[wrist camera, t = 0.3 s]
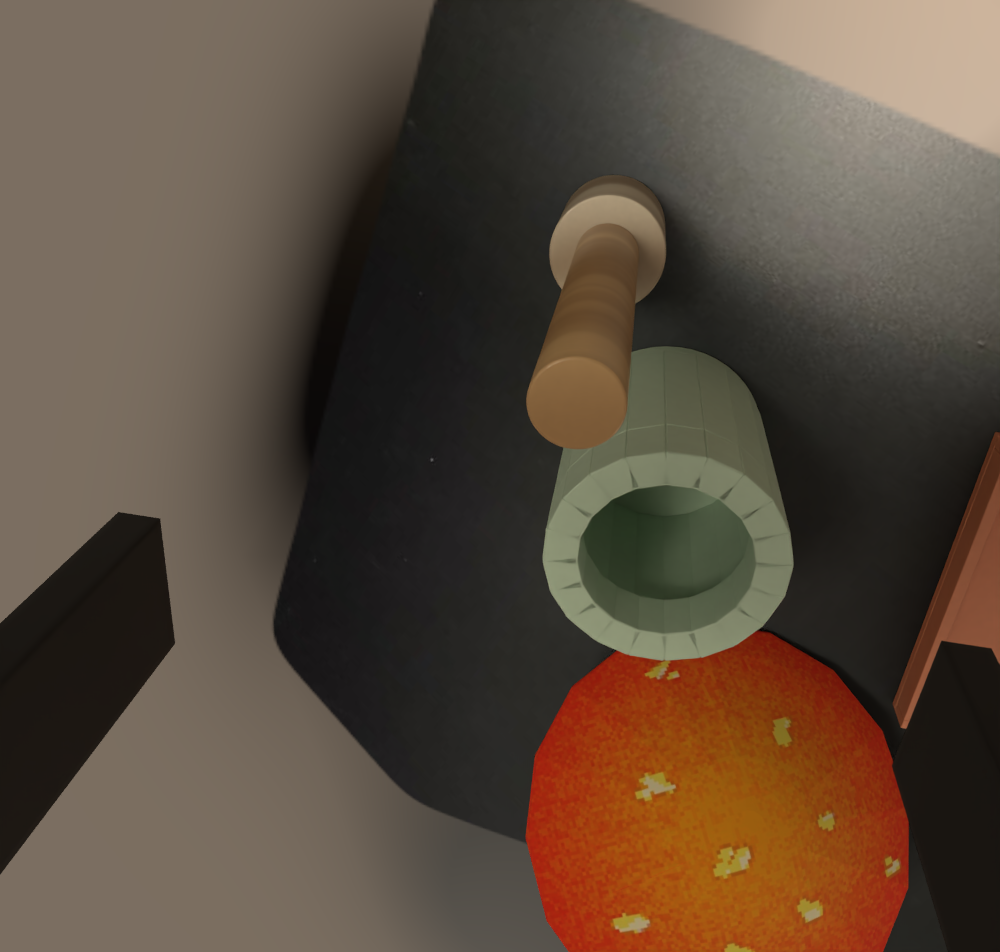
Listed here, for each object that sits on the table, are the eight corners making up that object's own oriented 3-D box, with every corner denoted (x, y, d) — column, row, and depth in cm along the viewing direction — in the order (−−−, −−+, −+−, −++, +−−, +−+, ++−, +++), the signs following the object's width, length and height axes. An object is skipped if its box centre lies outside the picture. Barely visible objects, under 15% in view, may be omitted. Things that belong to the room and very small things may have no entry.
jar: (581, 333, 44) (557, 436, 33) (780, 359, 43) (820, 473, 32) (559, 503, 48) (532, 640, 38) (739, 529, 47) (762, 677, 37)
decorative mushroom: (818, 855, 57) (866, 1107, 44) (512, 746, 57) (468, 966, 44) (943, 691, 50) (1044, 933, 37) (594, 566, 50) (570, 765, 37)
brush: (566, 169, 40) (491, 302, 22) (673, 180, 40) (687, 327, 22) (555, 273, 43) (477, 473, 24) (656, 286, 42) (655, 499, 24)
